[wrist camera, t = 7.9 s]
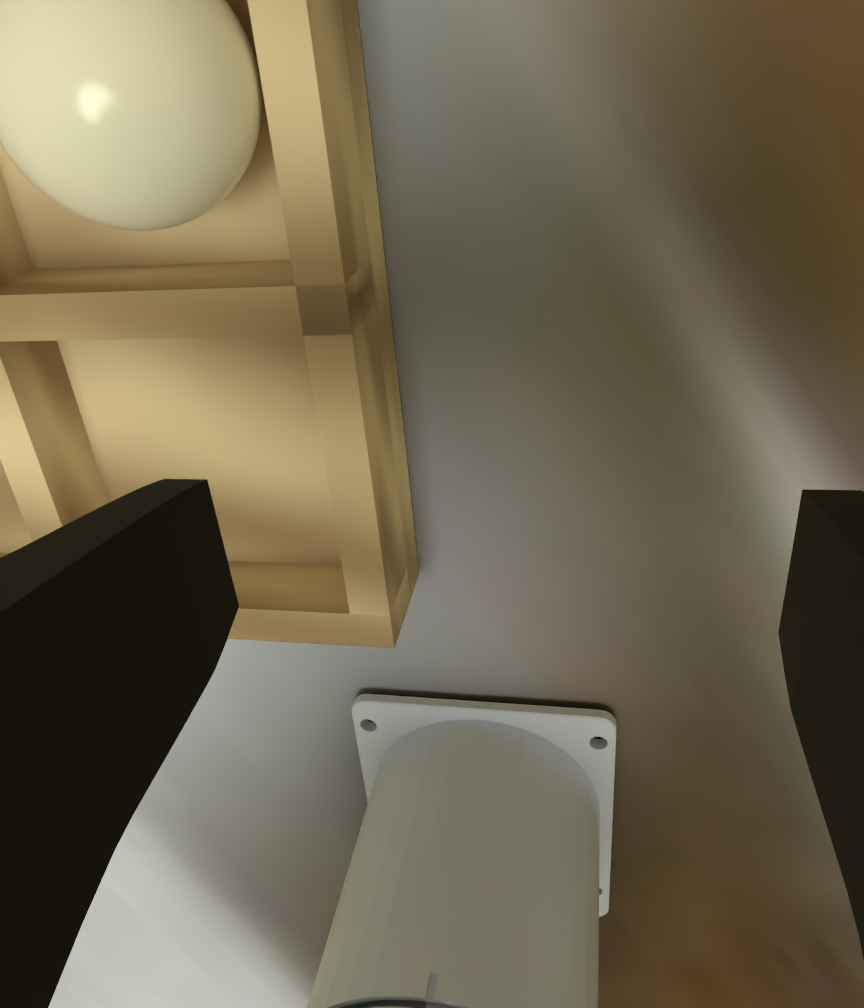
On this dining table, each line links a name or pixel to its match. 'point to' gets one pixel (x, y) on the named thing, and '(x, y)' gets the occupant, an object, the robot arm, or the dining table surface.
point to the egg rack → (229, 355)
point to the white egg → (128, 105)
